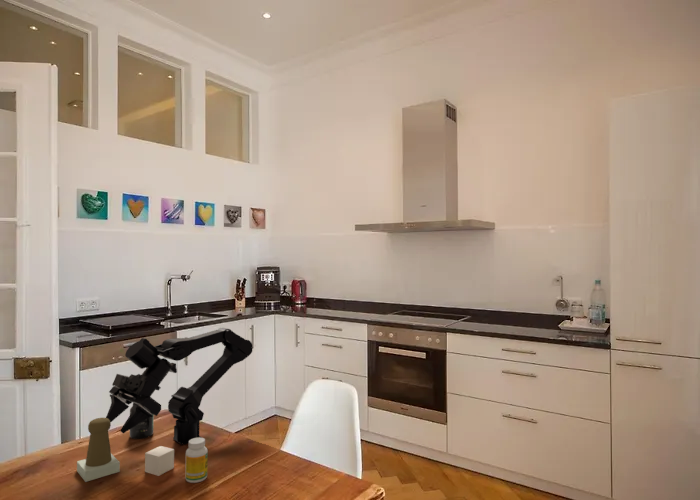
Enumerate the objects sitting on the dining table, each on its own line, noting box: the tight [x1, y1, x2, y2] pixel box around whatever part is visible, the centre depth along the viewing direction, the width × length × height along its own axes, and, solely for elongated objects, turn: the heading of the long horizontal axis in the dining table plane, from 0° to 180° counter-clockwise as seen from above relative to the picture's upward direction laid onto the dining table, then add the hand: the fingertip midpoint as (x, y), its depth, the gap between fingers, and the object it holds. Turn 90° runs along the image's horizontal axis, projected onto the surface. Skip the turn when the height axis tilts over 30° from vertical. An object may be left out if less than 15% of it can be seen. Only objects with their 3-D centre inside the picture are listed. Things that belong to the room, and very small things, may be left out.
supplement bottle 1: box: [129, 403, 155, 440], centre depth 144 cm, size 7×7×12 cm
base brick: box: [76, 453, 121, 483], centre depth 120 cm, size 8×8×2 cm
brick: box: [144, 445, 175, 477], centre depth 121 cm, size 5×5×5 cm
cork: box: [85, 417, 112, 467], centre depth 120 cm, size 6×6×11 cm
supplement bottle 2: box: [184, 437, 209, 484], centre depth 117 cm, size 5×5×10 cm
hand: (113, 428), depth 123 cm, fingers open, 9 cm apart
